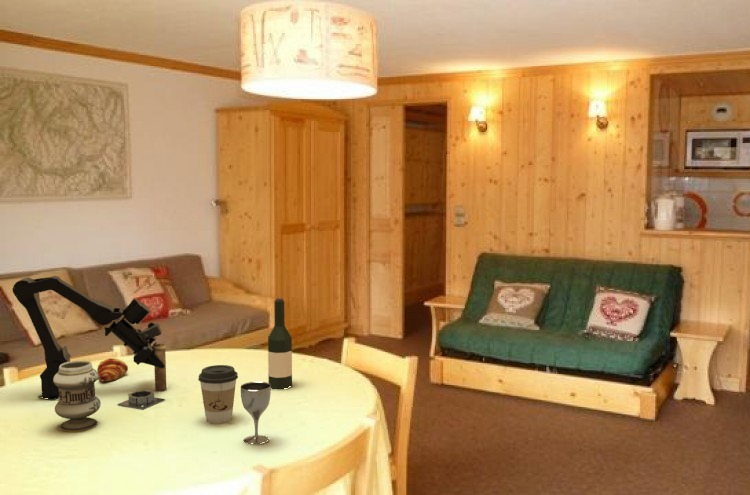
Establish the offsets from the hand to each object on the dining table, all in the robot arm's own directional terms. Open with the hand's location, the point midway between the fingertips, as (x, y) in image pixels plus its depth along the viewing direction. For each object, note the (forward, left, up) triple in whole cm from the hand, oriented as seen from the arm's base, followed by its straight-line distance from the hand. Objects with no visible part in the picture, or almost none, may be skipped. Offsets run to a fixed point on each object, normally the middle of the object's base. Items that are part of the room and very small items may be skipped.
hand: (164, 365), depth 236 cm
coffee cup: (-16, -34, -8) cm, 38 cm away
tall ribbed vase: (-1, +1, -8) cm, 8 cm away
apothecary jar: (-37, -1, -8) cm, 38 cm away
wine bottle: (+19, -33, -8) cm, 39 cm away
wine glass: (-25, -53, -8) cm, 59 cm away
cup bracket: (-14, -3, -8) cm, 16 cm away
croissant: (+5, +28, -8) cm, 29 cm away
